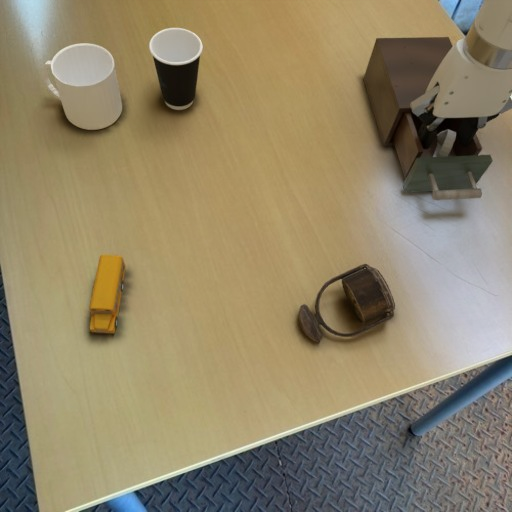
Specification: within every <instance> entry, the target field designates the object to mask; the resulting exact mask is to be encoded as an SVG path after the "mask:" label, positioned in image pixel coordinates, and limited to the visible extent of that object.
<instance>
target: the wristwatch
mask: <svg viewBox="0 0 512 512" xmlns="http://www.w3.org/2000/svg"><path fill="white" fill-rule="evenodd" d="M455 138H456V132H453V131H451V130H449V129H447V130H445V131H442V132H440V133H439V134H437V140H438V143H437V144H438V145H437V147H436V149H435V152H434V154H433V157H447V156H448V154H449V152H450V151H451V148H452V146H453V143H454V141H455ZM440 143H441V144H440Z"/></svg>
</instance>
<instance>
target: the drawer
mask: <svg viewBox="0 0 512 512" xmlns="http://www.w3.org/2000/svg"><path fill="white" fill-rule="evenodd" d="M433 117H435V115H433ZM464 119H465V117H463V118H445V119H444V120H443V121H442V122H441V123H440V124H439V125H438V126H437V127H436V129H437V134H439V133H440V132H442V131H445V130H447V129H449V130H451V131H453V132H456V138H455V141H454V143H453V146H452V148H451V151H450V152H449V154H448V156H447V157H433V154H434V152H435V149H436V147H437V145H438V144H437V143H438V140H437V134H436V136H435V138H434V140H433V141H432V143H431V145H430V147H429V148H428V149H423V146H422V144H421V141H420V140H419V137H418V132H419V130H420V128H421V126H422V124H423V122H422V121H421V120H420V118H419V117H417V116H416V115H415V114H414V113H413V112H403V113H402V115H401V117H400V120H399V122H398V124H397V127H396V129H395V131H394V133H393V136H392V138H393V141H394V144H395V146H394V148H395V151H396V153H397V157H398V160H399V163H400V166H401V170H402V174H403V176H404V181H403V183H402V185H401V188H402V191H403V193H415V192H417V193H418V192H432V195H431V197H432V198H431V199H432V200H433V201H448V200H449V201H450V200H452V201H453V200H469V199H470V200H471V199H481V198H482V196H483V190H482V189H481V188H479V187H478V186H477V184H478V182H479V181H480V180H481V179H482V177H483V176H484V174H485V173H486V172H487V170H488V169H489V168H490V166H491V164H492V163H493V161H494V160H493V158H492V156H491V154H481V151H482V150H483V147H482V144H481V142H480V139H479V137H478V134H477V133H476V134H475V136H474V137H473V139H472V140H471V142H470V144H469V145H468V147H467V148H463V147H462V146H461V144H460V141H459V139H458V136H457V131H458V129H459V127H460V125H461V124H462V122H463V120H464ZM440 144H441V143H440Z"/></svg>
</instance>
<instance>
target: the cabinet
mask: <svg viewBox="0 0 512 512" xmlns="http://www.w3.org/2000/svg"><path fill="white" fill-rule="evenodd" d="M374 41H375V42H374V44H373V48H372V51H371V54H370V57H369V60H368V64H367V66H366V69H365V73H364V75H363V82H364V86H365V87H366V91H367V95H368V99H369V102H370V106H371V109H372V113H373V115H374V119H375V122H376V125H377V128H378V132H379V137H380V139H381V142H382V146H383V147H395V144H394V141H393V138H392V136H393V133H394V131H395V129H396V127H397V124H398V122H399V120H400V117H401V115H402V113H403V112H412V110H411V107H410V103H411V102H413V101H414V100H416V99H417V98H419V97H420V96H422V95H423V94H425V93H426V89H427V87H428V85H429V83H430V81H431V79H432V77H433V76H434V74H435V72H436V70H437V69H438V67H439V65H440V64H441V62H442V61H443V59H444V58H445V56H446V55H447V53H448V52H449V51H450V49H451V48H452V47H453V46H454V45H453V43H452V41H451V39H450V37H449V36H433V37H432V36H431V37H430V36H429V37H428V36H425V37H424V36H423V37H419V36H418V37H376V38H375V40H374ZM429 107H430V105H429V106H428V107H426V108H427V109H428V108H429Z"/></svg>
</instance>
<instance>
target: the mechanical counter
mask: <svg viewBox="0 0 512 512" xmlns="http://www.w3.org/2000/svg"><path fill="white" fill-rule="evenodd" d="M340 280H341V285H342V289H343V293H344V296H345V298H346V300H347V302H348V304H349V306H350V308H351V309H352V311H353V312H352V313H354V315H355V316H356V319H357V320H358V321H359V323H361V324H362V325H366V324H368V323H370V322H371V323H370V324H368V325H366V326H365V327H362V328H360V329H358V330H355V331H353V332H349V333H348V332H347V333H343V332H338V331H337V330H335V329H332V328H331V327H330V326H329V325H327V324H326V322H325V321H324V319H323V317H322V315H321V311H320V300H321V297H322V295H323V293H324V291H325V290H326V289H327V288H328V287H329V286H330V285H332V284H334V283H335V282H338V281H340ZM314 309H315V313H314V314H313V313H312V311H311V308H310V307H309V306H308V305H307V304H306V303H303V304H301V305H300V307H299V310H298V323H299V326H300V328H301V329H302V332H303V333H304V334H305V335H306V336H307V337H308V338H309V339H310V340H311V341H314V342H317V343H320V342H321V341H322V340H323V335H322V332H321V330H320V326H321V327H322V328H324V330H325V331H327V332H328V333H330V334H332V335H334V336H337V337H341V338H353V337H357V336H359V335H361V334H363V333H366V332H367V331H369V330H372V329H374V328H376V327H378V326H380V325H382V324H384V323H386V322H388V321H390V320H392V319H393V318H394V317H395V312H394V310H395V309H396V303H395V299H394V296H393V294H392V291H391V289H390V287H389V285H388V283H387V281H386V279H385V277H384V276H383V274H382V273H381V272H380V271H379V269H377V268H375V267H373V266H370V265H369V264H367V263H363V264H360V265H358V266H356V267H354V268H351V269H349V270H346V271H345V272H343V273H341V274H338V275H336V276H334V277H332V278H330V279H329V280H327V281H326V282H324V283H323V285H322V287H321V288H320V289H319V290H318V292H317V295H316V298H315V303H314ZM388 314H389V315H388ZM385 315H386V316H385ZM382 316H384V317H382ZM381 317H382V318H381ZM379 318H380V319H379ZM376 319H377V320H376ZM375 320H376V321H375ZM372 321H374V322H372Z"/></svg>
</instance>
